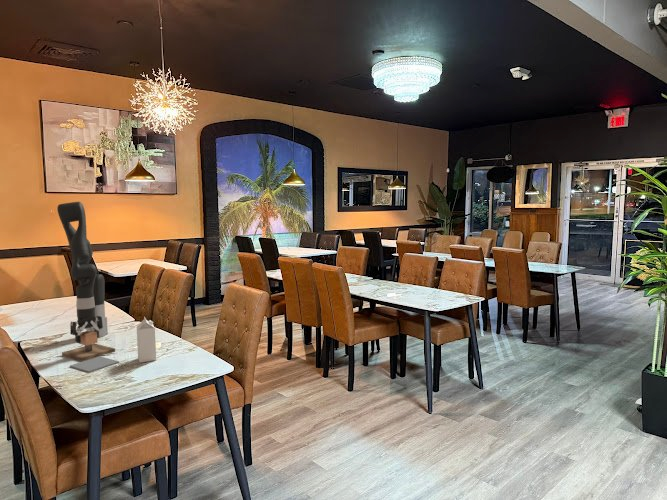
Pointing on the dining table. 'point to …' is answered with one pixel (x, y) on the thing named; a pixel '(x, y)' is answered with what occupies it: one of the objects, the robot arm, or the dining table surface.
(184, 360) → the dining table surface
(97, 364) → the mat
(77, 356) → the brown board
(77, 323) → the robot arm
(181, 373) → the dining table surface
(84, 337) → the tan cube with tab
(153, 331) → the milk carton
